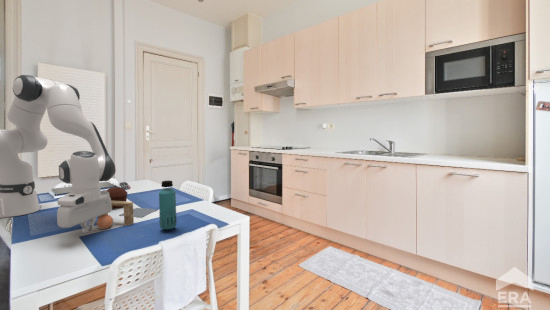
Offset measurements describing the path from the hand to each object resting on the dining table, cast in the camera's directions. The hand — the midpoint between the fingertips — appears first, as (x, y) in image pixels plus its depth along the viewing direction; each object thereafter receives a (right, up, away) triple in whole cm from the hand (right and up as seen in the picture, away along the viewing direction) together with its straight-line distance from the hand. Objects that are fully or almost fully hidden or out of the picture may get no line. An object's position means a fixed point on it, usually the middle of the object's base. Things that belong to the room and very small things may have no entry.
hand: (88, 231), depth 99 cm
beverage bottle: (+28, -2, +7) cm, 28 cm away
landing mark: (+5, +1, +28) cm, 28 cm away
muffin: (-12, +2, +37) cm, 39 cm away
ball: (+2, +2, +7) cm, 7 cm away
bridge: (+2, 0, +13) cm, 14 cm away
